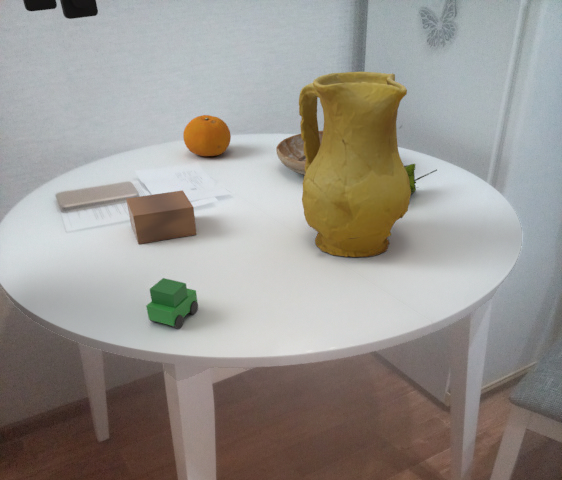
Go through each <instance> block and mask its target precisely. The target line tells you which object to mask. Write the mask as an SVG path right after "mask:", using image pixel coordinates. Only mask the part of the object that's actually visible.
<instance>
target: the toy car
mask: <svg viewBox="0 0 562 480" xmlns="http://www.w3.org/2000/svg"><path fill="white" fill-rule="evenodd" d="M149 294H150V300H151V301H150V302H149V303H147V305H146V306H145V307H146V311H147V317H148V321H150V322H152V323H155V324H157V323H160V324H163V325H168V326H170V327H171V328H174V329H181V328H182V326H183V324H184V318H185V316H187V315H188V314H191V315H194V314H195V315H196V313H197V311H198V309H199V302H198V295H197V290H196V289H192V288H187V283H185V282H182V281H177V280H173V279H171V278H170V279H169V278H165V277H162V278H161V279H160V280H158V281H157V283H155V284H154V285H153V286H152V287H150V288H149Z"/></svg>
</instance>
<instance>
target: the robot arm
mask: <svg viewBox="0 0 562 480" xmlns="http://www.w3.org/2000/svg"><path fill="white" fill-rule="evenodd" d="M22 1H23V5H24V9H25V10H26V11H28V12H39V11H47V10H55V9H56V8H57V6H58V3H57V0H22ZM59 2H60V6H61V10H62V14H63V16H64V18H66V19H69V20H73V19H83V18H89V17H96V16H97V15H98V13H99V8H98V4H97V0H59Z"/></svg>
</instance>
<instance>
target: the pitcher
mask: <svg viewBox="0 0 562 480" xmlns="http://www.w3.org/2000/svg"><path fill="white" fill-rule="evenodd" d="M407 93H408V90H407V88H406V86H405V85H403V84H401V83H400V82H397V81H396V75H395V73H386V72H383V73H382V72H375V71H347V72H330V73H327V74H322V75H320V76H317V77H316V78H314V79H313V81H312V82H310V83H308V84H306V85H304V86H303V87H302V88H301V90H300V92H299V97H298V115H299V116H300V117H301V119H300V126H299V127H300V134H301V138H302V140H303V141H304V155H305V157H306V162H305V172H306V174H305V175H303V179H302V180H303V181H302V196H301V203H302V208H303V215H304V219H305V221H306V224H307V225H308V226H309V228H311V229H313V230H314V231H316V232H317V234H316V237H315V238H314V244H315V246H316V248H318V249H320V250H319V251H321V252H324V253H327V254H328V255H332V256H338V257H344V258H347V257H349V258H350V257H352V258H359V257H361V258H364V257H366V258H368V257H374V256H378V255H380V254H383V253H385V252H387V251H388V250H389V245H390V240H389V239H388V237H391V236H392V233H391V230H392V228H393V226H394V224H395V223H396V221H398V220H400V219H403V217H404V216H406V213H408V211H409V205H410V200H411V195H412V193H411V190H410V182H409V177H408V174H407V171H406V169H405V167H404V166H405V165H404V163H403V161H402V158H401V156H400V152H399V145H398V135H397V134H398V132H397V131H398V130H397V119H398V113H399V111H398V109H399V108H400V104H401V101H402V100H403V98H404V97H406V96H407ZM318 99H319V103H320V106H321V108H322V113H323V128H322V131H323V136H322V141H321V144H320V138H319V131H320V130H319V122H318Z"/></svg>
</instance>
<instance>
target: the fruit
mask: <svg viewBox="0 0 562 480" xmlns="http://www.w3.org/2000/svg"><path fill="white" fill-rule="evenodd" d="M231 136H232V135H231V130H230V128H229V126H228V124H227V123H226V122H225V121H224V120H223V119H221V118H220V117H217V116H214V115H210V114H209V115H206V114H203V115H199V116H196V117H194V118H192V119H191V120H190V121H189V122H188V123H187V124H186V125H185V127H184V129H183V142H184V145H185V147H186V148H187V150H188V151H190V152H191V153H192V154H194V155H195V156H201V157H217V156H220V155H223V153H225V152H226V151H227V149H228V148H229V146H230V144H231V138H232V137H231Z"/></svg>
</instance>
